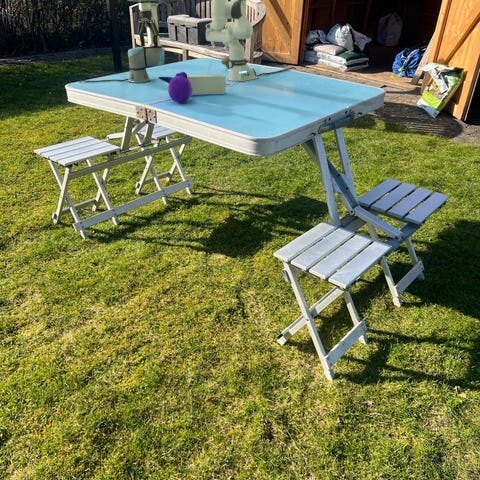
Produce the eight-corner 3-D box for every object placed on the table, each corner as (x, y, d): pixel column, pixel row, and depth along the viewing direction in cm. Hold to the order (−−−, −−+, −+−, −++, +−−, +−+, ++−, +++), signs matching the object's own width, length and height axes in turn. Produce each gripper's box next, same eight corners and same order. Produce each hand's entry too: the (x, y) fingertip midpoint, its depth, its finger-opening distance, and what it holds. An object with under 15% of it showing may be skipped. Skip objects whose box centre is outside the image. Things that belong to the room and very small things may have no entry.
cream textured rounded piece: (225, 72, 364) (224, 52, 356) (218, 70, 372) (217, 50, 365) (247, 69, 373) (247, 50, 365) (240, 67, 381) (240, 48, 374)
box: (186, 94, 290) (186, 76, 284) (185, 93, 295) (184, 75, 290) (225, 93, 296) (225, 76, 291) (223, 92, 302) (223, 74, 296)
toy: (182, 94, 297) (192, 108, 276) (156, 89, 290) (164, 103, 269) (187, 69, 289) (197, 82, 268) (160, 64, 282) (169, 77, 261)
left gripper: (162, 10, 274) (166, 48, 285) (138, 9, 289) (142, 45, 300) (153, 11, 270) (157, 49, 280) (128, 10, 284) (133, 46, 295)
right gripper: (235, 25, 275) (235, 50, 282) (210, 24, 286) (211, 47, 293) (228, 26, 271) (229, 51, 278) (203, 25, 282) (204, 48, 289)
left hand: (149, 47), depth 290 cm, fingers open, 13 cm apart
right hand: (219, 49), depth 285 cm, fingers open, 8 cm apart
